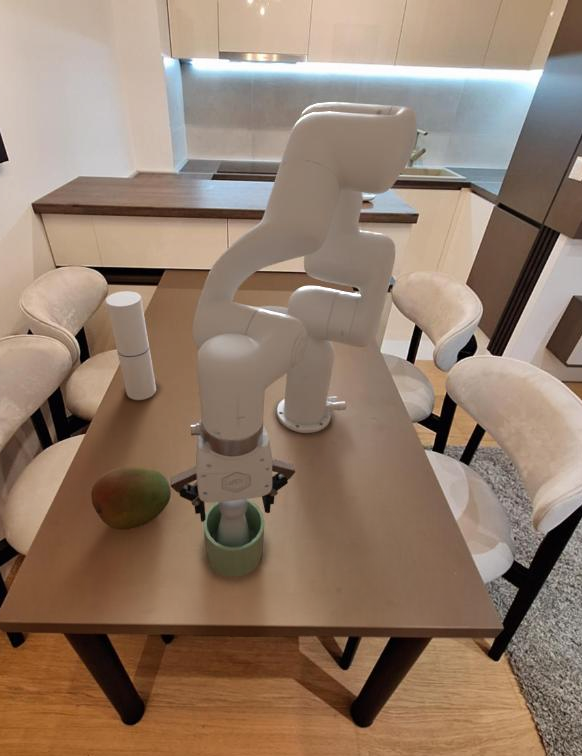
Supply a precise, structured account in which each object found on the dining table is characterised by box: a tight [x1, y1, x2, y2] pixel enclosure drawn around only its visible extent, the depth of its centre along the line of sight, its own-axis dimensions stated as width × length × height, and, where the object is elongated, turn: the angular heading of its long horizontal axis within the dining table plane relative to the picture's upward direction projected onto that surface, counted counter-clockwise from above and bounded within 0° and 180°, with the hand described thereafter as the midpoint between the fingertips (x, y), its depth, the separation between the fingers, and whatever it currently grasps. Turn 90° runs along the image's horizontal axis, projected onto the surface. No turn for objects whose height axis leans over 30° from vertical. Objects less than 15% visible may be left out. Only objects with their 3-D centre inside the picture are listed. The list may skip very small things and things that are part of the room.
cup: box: [202, 499, 265, 578], centre depth 65 cm, size 9×9×8 cm
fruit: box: [90, 466, 172, 531], centre depth 69 cm, size 12×13×10 cm
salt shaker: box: [216, 499, 251, 548], centre depth 63 cm, size 6×6×13 cm
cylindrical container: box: [105, 290, 157, 401], centre depth 92 cm, size 7×7×25 cm
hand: (234, 509), depth 60 cm, fingers open, 9 cm apart
